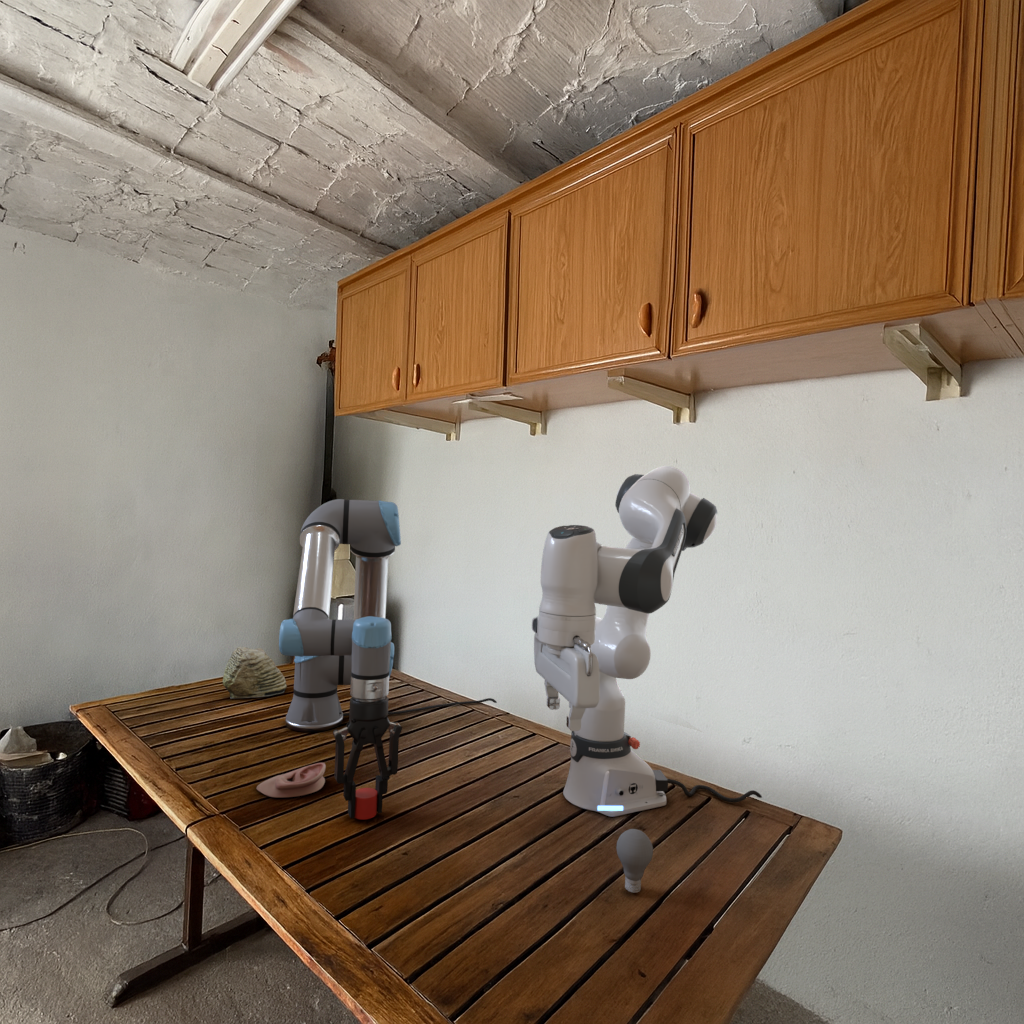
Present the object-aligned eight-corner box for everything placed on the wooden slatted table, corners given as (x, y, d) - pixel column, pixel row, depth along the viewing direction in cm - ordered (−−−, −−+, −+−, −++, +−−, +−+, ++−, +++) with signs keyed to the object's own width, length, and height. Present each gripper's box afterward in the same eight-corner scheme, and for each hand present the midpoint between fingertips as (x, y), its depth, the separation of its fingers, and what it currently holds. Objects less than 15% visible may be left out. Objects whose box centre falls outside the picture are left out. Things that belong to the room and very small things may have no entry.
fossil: (218, 695, 195) (220, 647, 195) (278, 685, 208) (279, 640, 207) (228, 703, 189) (230, 653, 188) (289, 692, 201) (290, 645, 201)
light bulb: (610, 879, 108) (613, 822, 108) (644, 879, 109) (647, 822, 109) (619, 902, 102) (622, 840, 102) (655, 901, 103) (658, 840, 103)
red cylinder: (349, 819, 124) (350, 797, 124) (355, 807, 129) (356, 787, 129) (373, 820, 124) (374, 798, 124) (378, 808, 129) (379, 788, 129)
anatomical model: (248, 775, 133) (279, 754, 144) (247, 794, 133) (278, 771, 144) (306, 783, 130) (332, 761, 142) (305, 802, 130) (332, 779, 142)
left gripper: (327, 707, 119) (322, 830, 119) (418, 697, 127) (413, 812, 127) (320, 695, 125) (315, 812, 126) (406, 687, 133) (402, 796, 134)
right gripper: (613, 645, 89) (608, 742, 89) (563, 617, 109) (560, 697, 109) (570, 645, 88) (566, 745, 88) (528, 617, 107) (525, 698, 108)
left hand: (364, 812), depth 126 cm, fingers closed on red cylinder, 5 cm apart
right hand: (562, 718), depth 99 cm, fingers open, 8 cm apart
